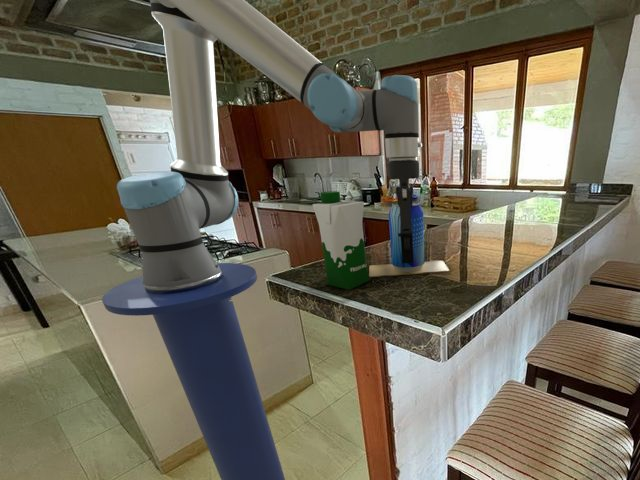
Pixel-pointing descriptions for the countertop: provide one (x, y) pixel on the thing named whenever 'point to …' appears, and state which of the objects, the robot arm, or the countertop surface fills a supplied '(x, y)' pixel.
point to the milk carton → (342, 240)
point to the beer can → (417, 236)
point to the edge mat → (391, 271)
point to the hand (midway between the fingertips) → (407, 257)
